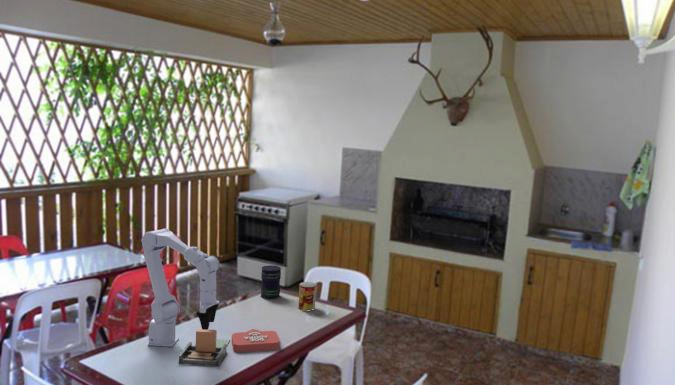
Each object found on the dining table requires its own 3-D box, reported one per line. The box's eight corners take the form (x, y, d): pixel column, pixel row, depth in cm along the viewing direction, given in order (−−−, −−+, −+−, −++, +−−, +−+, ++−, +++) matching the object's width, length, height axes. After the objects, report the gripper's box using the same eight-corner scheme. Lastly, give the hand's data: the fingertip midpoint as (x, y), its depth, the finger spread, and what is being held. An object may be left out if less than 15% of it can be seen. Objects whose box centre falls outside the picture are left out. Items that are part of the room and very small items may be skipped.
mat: (193, 347, 192) (193, 346, 191) (199, 339, 199) (199, 338, 199) (224, 349, 191) (224, 348, 191) (229, 340, 199) (229, 340, 199)
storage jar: (268, 300, 250) (269, 271, 248) (256, 295, 256) (257, 267, 255) (283, 296, 257) (285, 268, 256) (271, 292, 264) (272, 264, 262)
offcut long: (187, 363, 179) (187, 357, 179) (189, 360, 181) (189, 354, 181) (211, 364, 179) (211, 359, 178) (213, 362, 181) (213, 356, 180)
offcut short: (190, 360, 181) (190, 354, 181) (192, 357, 183) (192, 352, 183) (209, 361, 181) (209, 355, 181) (211, 358, 183) (211, 353, 183)
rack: (178, 363, 178) (178, 355, 177) (189, 349, 190) (189, 341, 189) (218, 366, 177) (218, 357, 177) (226, 351, 189) (226, 344, 189)
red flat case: (274, 326, 208) (280, 341, 194) (274, 335, 208) (280, 350, 194) (230, 328, 203) (233, 344, 189) (230, 337, 203) (233, 353, 189)
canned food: (297, 305, 245) (298, 281, 243) (313, 305, 246) (314, 281, 245) (299, 311, 237) (300, 286, 236) (315, 311, 238) (317, 286, 237)
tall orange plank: (195, 354, 185) (195, 331, 184) (197, 351, 188) (197, 328, 187) (214, 355, 185) (214, 332, 184) (215, 353, 188) (216, 329, 187)
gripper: (213, 295, 177) (213, 333, 178) (223, 284, 191) (223, 319, 193) (193, 295, 177) (193, 332, 178) (205, 283, 191) (205, 318, 193)
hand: (208, 325), depth 186 cm, fingers open, 7 cm apart
